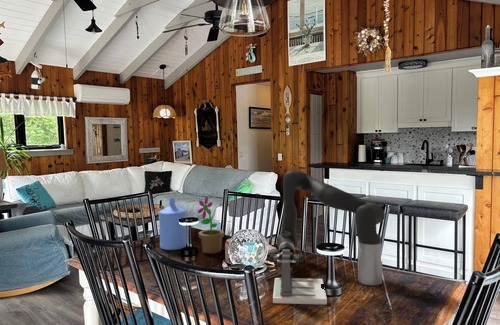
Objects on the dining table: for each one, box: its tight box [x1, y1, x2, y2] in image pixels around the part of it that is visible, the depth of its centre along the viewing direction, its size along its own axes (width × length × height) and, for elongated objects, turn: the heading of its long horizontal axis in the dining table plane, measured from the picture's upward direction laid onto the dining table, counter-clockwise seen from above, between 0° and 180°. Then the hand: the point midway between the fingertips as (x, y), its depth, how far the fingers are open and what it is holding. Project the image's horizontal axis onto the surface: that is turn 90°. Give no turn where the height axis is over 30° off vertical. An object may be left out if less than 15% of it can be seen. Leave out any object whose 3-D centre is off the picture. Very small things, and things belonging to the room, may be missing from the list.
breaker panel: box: [272, 277, 328, 305], centre depth 150 cm, size 20×20×2 cm
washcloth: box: [267, 244, 279, 256], centre depth 207 cm, size 12×18×3 cm, turn 41°
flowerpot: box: [197, 196, 225, 254], centre depth 208 cm, size 14×14×30 cm
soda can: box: [224, 238, 231, 264], centre depth 186 cm, size 7×7×12 cm
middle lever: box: [281, 254, 292, 288], centre depth 150 cm, size 4×4×12 cm
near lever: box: [280, 260, 292, 296], centre depth 143 cm, size 4×4×12 cm
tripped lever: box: [280, 249, 293, 281], centre depth 157 cm, size 4×4×12 cm
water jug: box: [158, 198, 188, 251], centre depth 218 cm, size 16×16×28 cm
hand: (286, 263), depth 157 cm, fingers open, 8 cm apart
